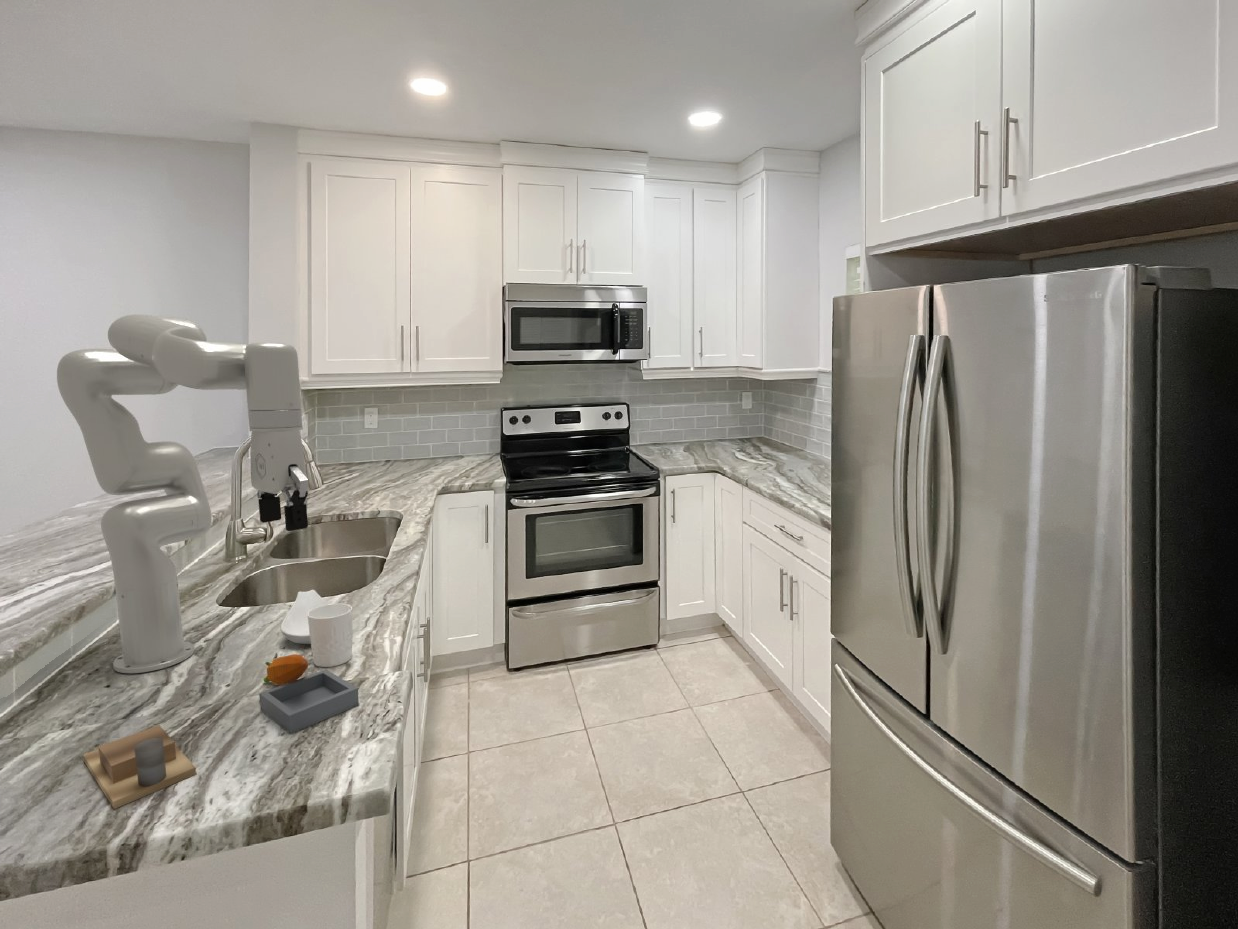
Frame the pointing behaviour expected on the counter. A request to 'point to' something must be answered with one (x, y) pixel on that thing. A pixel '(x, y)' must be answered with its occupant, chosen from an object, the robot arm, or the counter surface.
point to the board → (130, 783)
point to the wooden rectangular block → (131, 753)
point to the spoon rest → (301, 617)
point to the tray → (308, 700)
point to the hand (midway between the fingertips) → (283, 525)
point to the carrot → (285, 669)
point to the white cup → (331, 634)
